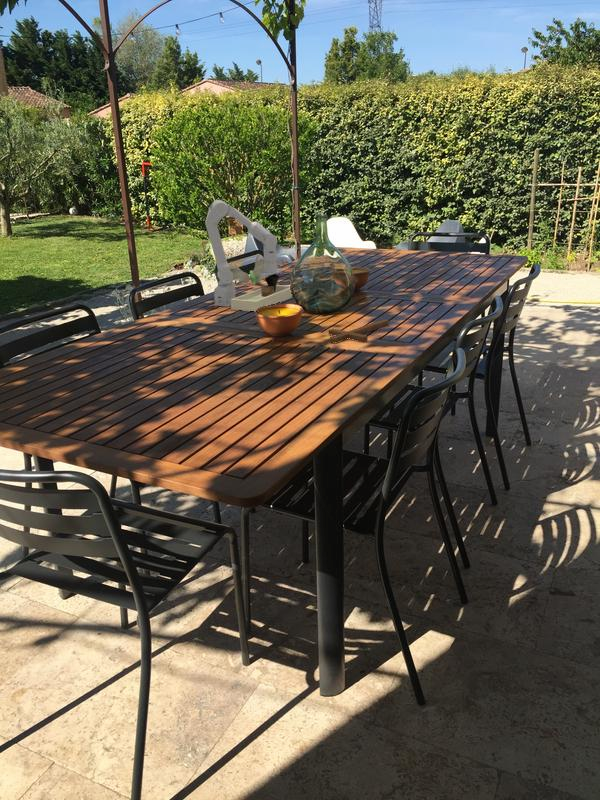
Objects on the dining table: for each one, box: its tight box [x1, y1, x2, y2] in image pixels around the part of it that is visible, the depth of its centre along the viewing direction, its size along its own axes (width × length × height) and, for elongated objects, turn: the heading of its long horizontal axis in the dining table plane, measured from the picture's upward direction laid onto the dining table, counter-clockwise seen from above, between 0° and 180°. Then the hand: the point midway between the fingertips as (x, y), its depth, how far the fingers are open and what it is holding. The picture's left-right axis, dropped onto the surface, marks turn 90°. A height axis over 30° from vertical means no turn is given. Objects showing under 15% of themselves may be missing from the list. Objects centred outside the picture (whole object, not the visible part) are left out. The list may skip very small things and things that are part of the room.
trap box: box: [230, 284, 293, 313], centre depth 283 cm, size 32×13×4 cm, turn 150°
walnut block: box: [260, 285, 274, 297], centre depth 285 cm, size 4×4×4 cm
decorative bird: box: [228, 253, 265, 286], centre depth 321 cm, size 24×10×15 cm
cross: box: [328, 319, 390, 344], centre depth 230 cm, size 16×2×30 cm
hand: (272, 291), depth 288 cm, fingers closed
